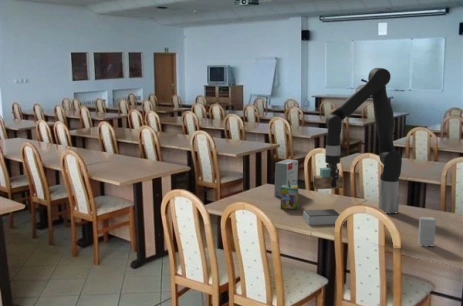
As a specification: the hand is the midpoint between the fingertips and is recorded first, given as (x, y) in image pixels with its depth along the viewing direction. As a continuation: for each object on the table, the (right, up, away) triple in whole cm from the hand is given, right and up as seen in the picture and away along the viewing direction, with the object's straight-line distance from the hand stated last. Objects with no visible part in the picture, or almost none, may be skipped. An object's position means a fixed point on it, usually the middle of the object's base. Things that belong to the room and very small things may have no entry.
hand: (332, 185), depth 261 cm
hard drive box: (-20, -8, +38) cm, 44 cm away
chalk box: (-21, -12, +13) cm, 27 cm away
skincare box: (+32, -23, -44) cm, 59 cm away
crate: (-4, +5, -1) cm, 7 cm away
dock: (-8, -17, -12) cm, 22 cm away
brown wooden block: (-2, -1, 0) cm, 2 cm away
